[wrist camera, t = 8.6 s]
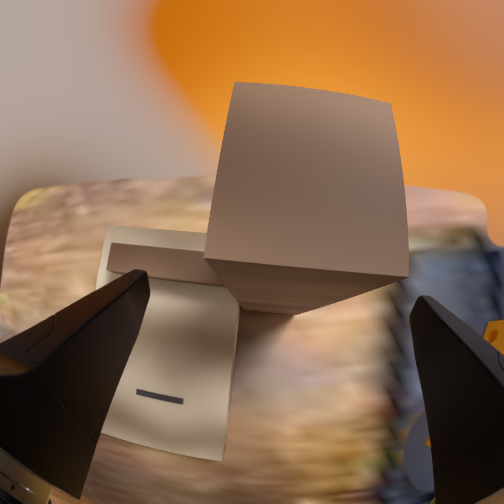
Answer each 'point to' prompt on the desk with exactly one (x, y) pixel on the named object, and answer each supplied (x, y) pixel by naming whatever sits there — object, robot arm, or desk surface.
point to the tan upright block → (296, 204)
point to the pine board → (175, 358)
